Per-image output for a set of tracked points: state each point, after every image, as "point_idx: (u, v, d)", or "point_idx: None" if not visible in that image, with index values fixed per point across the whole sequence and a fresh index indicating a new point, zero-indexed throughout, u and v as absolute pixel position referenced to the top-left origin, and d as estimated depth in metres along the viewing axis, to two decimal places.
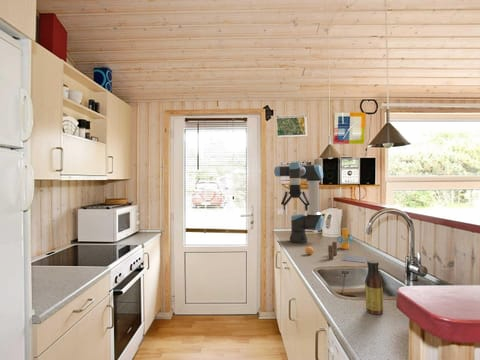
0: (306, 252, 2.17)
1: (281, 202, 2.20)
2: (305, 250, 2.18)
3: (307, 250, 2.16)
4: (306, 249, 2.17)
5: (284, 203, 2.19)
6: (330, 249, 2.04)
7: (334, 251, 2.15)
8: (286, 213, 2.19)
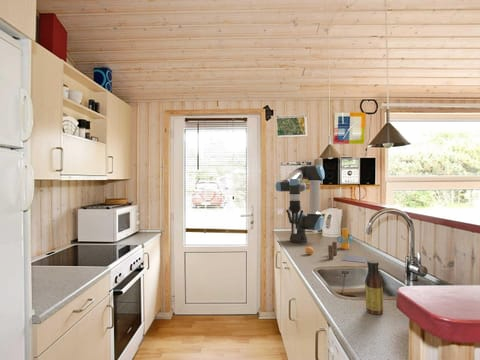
0: (306, 252, 2.17)
1: (289, 221, 2.23)
2: (305, 250, 2.18)
3: (307, 250, 2.16)
4: (306, 249, 2.17)
5: (292, 222, 2.22)
6: (330, 249, 2.04)
7: (334, 251, 2.15)
8: None
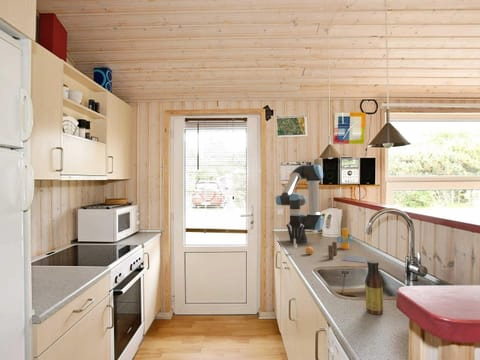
0: (306, 252, 2.17)
1: None
2: (305, 250, 2.18)
3: (307, 250, 2.16)
4: (306, 249, 2.17)
5: (292, 237, 2.22)
6: (330, 249, 2.04)
7: (334, 251, 2.15)
8: None
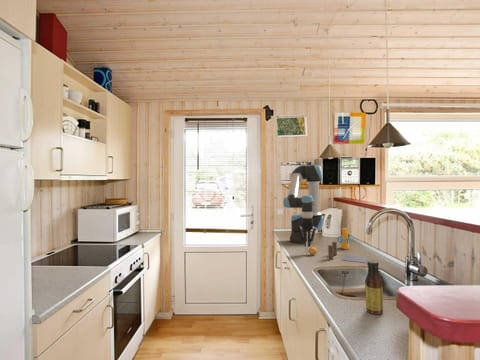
0: (309, 251, 2.16)
1: (301, 239, 2.19)
2: (309, 249, 2.17)
3: (311, 250, 2.15)
4: (310, 249, 2.15)
5: (304, 240, 2.18)
6: (330, 249, 2.04)
7: (334, 251, 2.15)
8: None
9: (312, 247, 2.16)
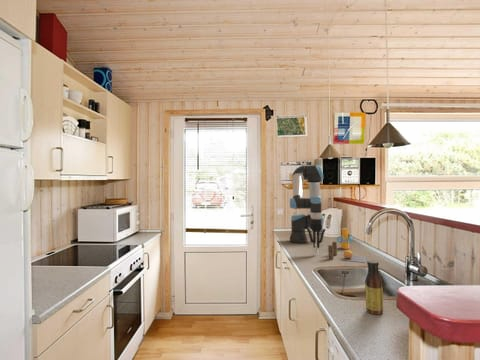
0: (348, 252, 2.03)
1: (310, 240, 2.16)
2: (351, 253, 2.03)
3: (348, 255, 2.03)
4: (350, 255, 2.03)
5: (313, 241, 2.15)
6: (330, 249, 2.04)
7: (334, 251, 2.15)
8: None
9: None
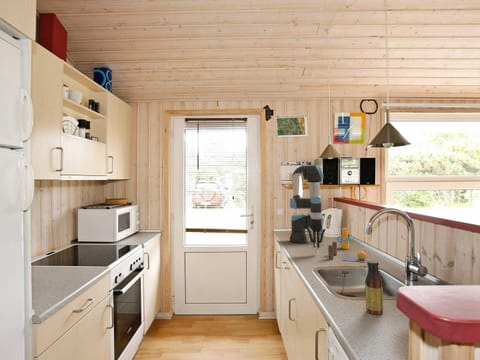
0: (360, 258, 2.00)
1: (310, 240, 2.16)
2: (358, 257, 2.01)
3: (360, 256, 2.00)
4: (358, 255, 2.01)
5: (313, 241, 2.15)
6: (330, 249, 2.04)
7: (334, 251, 2.15)
8: None
9: None
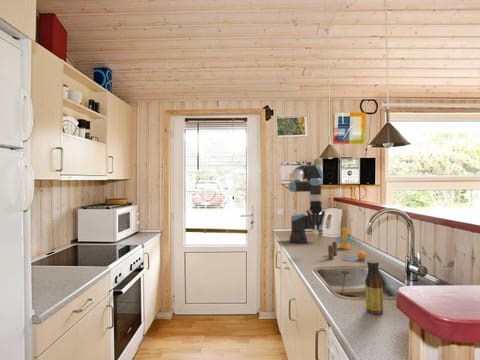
0: (360, 258, 2.00)
1: (310, 222, 2.16)
2: (358, 257, 2.01)
3: (360, 256, 2.00)
4: (358, 255, 2.01)
5: (313, 223, 2.15)
6: (330, 249, 2.04)
7: (334, 251, 2.15)
8: None
9: None
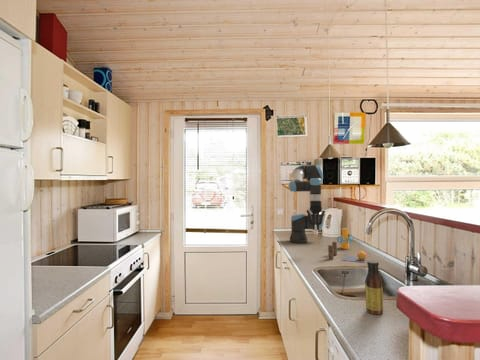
0: (360, 258, 2.00)
1: (310, 222, 2.16)
2: (358, 257, 2.01)
3: (360, 256, 2.00)
4: (358, 255, 2.01)
5: (313, 223, 2.15)
6: (330, 249, 2.04)
7: (334, 251, 2.15)
8: None
9: None
